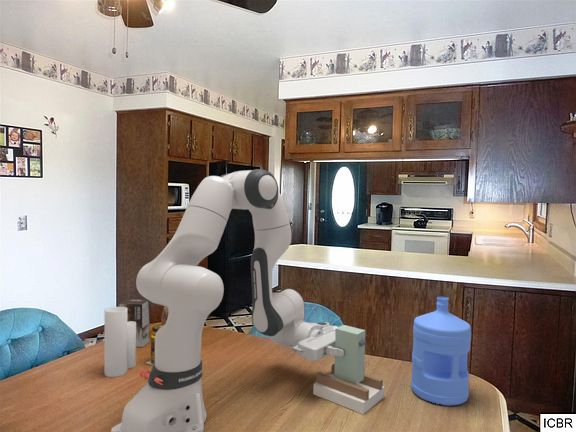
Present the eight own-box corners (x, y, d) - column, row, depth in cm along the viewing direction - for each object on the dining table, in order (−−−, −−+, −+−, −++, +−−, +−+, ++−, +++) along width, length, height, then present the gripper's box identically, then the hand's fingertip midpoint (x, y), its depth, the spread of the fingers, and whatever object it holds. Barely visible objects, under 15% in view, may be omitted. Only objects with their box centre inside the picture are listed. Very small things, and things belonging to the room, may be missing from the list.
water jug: (400, 383, 122) (404, 292, 121) (445, 378, 126) (449, 290, 125) (431, 409, 107) (435, 306, 106) (481, 403, 111) (485, 303, 110)
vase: (120, 377, 122) (121, 313, 121) (98, 376, 123) (98, 311, 122) (138, 362, 133) (138, 303, 133) (118, 361, 134) (118, 302, 133)
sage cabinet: (358, 385, 110) (360, 335, 109) (334, 376, 114) (335, 328, 114) (366, 379, 113) (367, 330, 112) (342, 371, 118) (343, 324, 117)
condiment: (145, 363, 133) (145, 328, 132) (161, 354, 141) (161, 320, 140) (163, 367, 130) (163, 331, 130) (178, 357, 138) (179, 323, 138)
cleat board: (363, 414, 104) (364, 393, 104) (313, 394, 114) (313, 375, 114) (384, 397, 114) (384, 378, 113) (336, 380, 124) (336, 362, 123)
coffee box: (150, 341, 153) (150, 299, 153) (142, 347, 147) (142, 304, 146) (127, 340, 154) (127, 298, 154) (118, 346, 148) (118, 302, 147)
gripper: (288, 337, 114) (329, 349, 105) (328, 320, 130) (366, 330, 121) (288, 358, 114) (328, 373, 106) (328, 339, 130) (366, 350, 122)
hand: (349, 350), depth 114 cm, fingers closed on sage cabinet, 4 cm apart
